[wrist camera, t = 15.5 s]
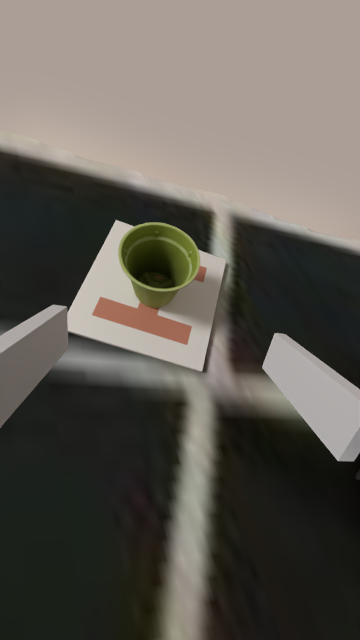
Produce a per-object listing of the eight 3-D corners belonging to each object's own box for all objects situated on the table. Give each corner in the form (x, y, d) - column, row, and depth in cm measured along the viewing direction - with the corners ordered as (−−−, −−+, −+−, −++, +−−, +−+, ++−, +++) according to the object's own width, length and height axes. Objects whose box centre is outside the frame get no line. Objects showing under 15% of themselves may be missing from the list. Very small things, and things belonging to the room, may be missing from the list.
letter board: (223, 263, 37) (226, 260, 36) (200, 372, 29) (202, 371, 28) (116, 224, 35) (116, 220, 34) (62, 330, 27) (59, 328, 26)
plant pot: (132, 256, 32) (130, 212, 24) (188, 272, 33) (205, 234, 25) (115, 309, 29) (106, 278, 21) (178, 324, 30) (194, 300, 22)
